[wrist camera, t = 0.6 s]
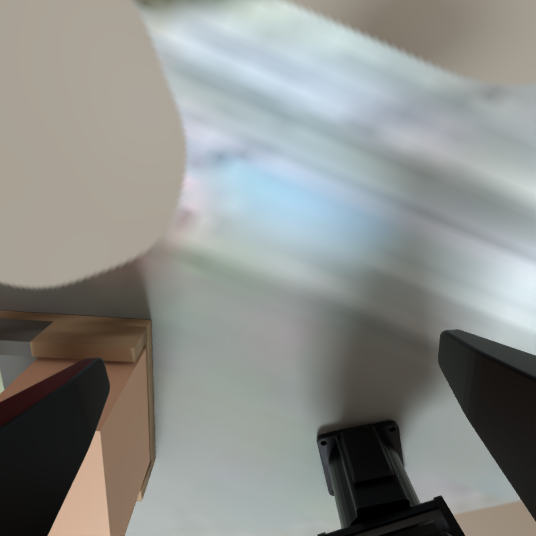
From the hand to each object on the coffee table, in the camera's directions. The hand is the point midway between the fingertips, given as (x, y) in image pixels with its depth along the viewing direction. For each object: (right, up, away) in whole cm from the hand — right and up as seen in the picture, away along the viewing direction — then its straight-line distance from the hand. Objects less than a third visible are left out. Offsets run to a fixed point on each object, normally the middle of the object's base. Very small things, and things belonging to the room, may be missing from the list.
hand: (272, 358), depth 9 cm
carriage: (-12, -7, +15) cm, 21 cm away
